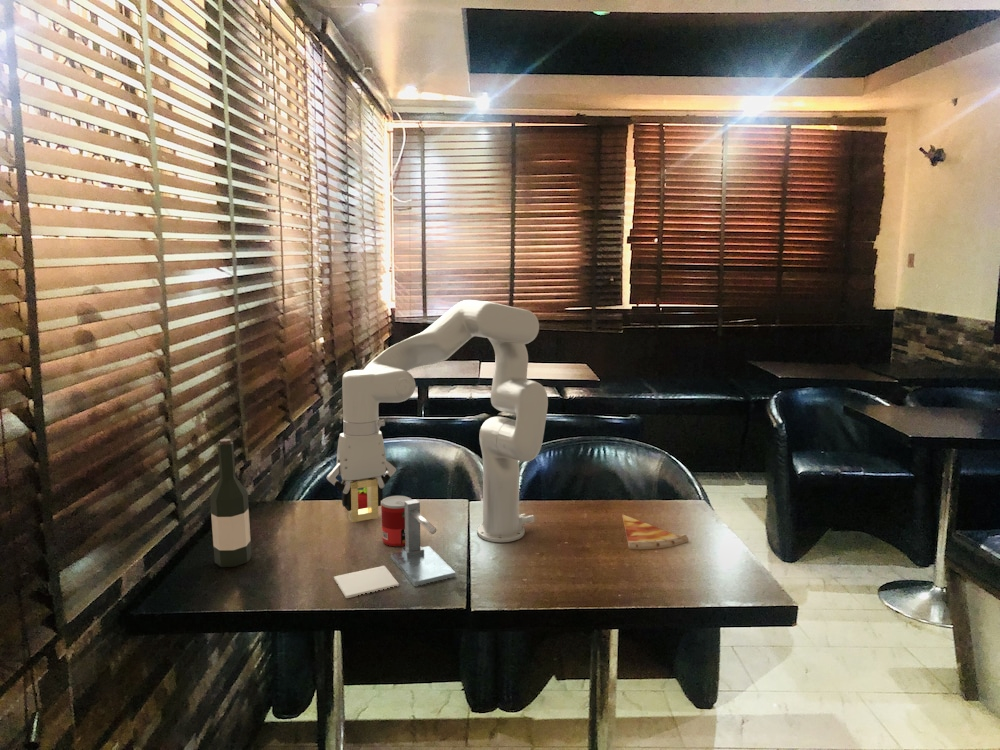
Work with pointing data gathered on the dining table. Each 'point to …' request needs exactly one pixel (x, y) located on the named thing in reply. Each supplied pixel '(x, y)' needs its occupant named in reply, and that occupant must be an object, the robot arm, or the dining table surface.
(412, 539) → the stand
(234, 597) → the dining table surface
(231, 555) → the wine bottle
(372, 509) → the rectangular frame block
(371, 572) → the pad
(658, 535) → the pizza slice
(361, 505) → the strawberry
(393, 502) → the canned food
